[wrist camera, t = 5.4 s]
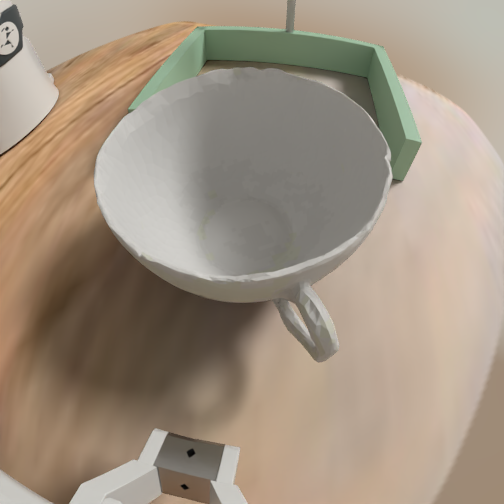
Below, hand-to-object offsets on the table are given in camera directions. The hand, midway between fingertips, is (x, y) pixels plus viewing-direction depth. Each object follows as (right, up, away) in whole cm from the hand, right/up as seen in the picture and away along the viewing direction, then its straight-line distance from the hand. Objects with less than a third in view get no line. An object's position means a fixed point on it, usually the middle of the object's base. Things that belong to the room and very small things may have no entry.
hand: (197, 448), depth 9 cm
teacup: (+2, +6, +9) cm, 12 cm away
